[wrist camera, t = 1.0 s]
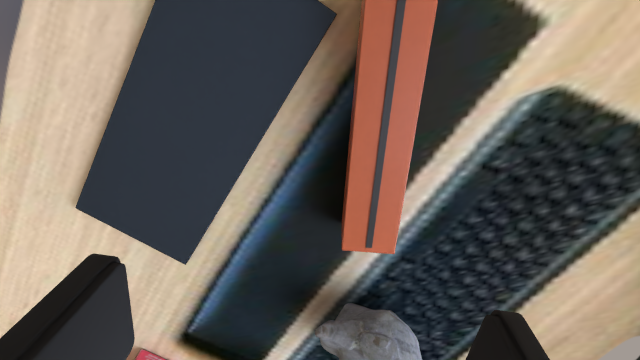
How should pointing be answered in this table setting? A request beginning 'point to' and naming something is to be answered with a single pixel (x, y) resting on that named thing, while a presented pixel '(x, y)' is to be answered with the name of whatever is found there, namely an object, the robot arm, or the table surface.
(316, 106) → the table surface
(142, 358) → the ink box
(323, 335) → the fossil
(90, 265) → the robot arm
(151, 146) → the mat
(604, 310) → the table surface
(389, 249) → the pencil case
